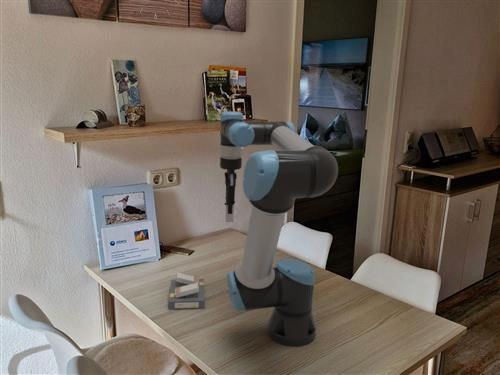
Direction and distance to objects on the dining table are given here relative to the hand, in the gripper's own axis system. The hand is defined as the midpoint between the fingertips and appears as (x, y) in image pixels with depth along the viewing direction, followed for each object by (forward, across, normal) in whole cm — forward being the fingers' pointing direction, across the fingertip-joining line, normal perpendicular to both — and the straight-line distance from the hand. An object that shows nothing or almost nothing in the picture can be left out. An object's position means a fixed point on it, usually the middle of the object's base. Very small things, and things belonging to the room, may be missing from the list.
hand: (229, 221), depth 159 cm
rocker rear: (+21, -2, +15) cm, 26 cm away
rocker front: (+21, -10, +15) cm, 28 cm away
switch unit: (+26, -6, +15) cm, 31 cm away
